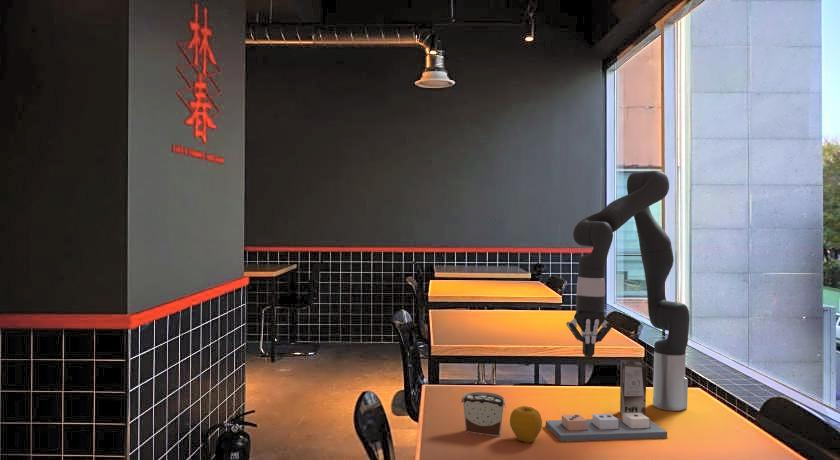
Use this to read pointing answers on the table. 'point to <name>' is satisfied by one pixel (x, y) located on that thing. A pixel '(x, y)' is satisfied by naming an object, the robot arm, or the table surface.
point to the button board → (605, 432)
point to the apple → (526, 423)
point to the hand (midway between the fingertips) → (588, 356)
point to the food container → (483, 412)
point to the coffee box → (633, 387)
